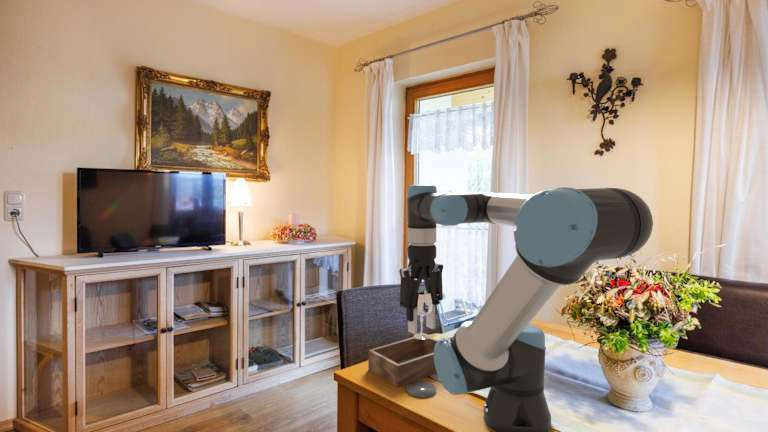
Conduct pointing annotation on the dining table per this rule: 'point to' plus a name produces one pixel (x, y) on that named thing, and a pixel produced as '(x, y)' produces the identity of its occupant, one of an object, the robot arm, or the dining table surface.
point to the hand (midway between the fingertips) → (421, 329)
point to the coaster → (421, 389)
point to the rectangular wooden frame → (406, 372)
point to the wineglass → (423, 310)
